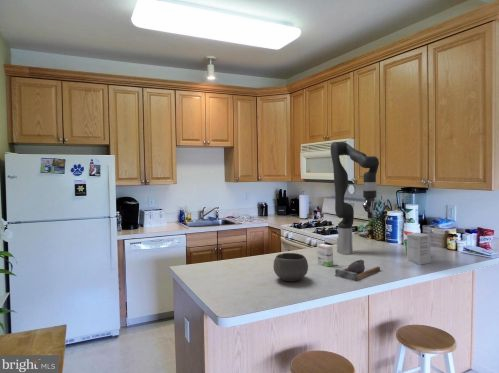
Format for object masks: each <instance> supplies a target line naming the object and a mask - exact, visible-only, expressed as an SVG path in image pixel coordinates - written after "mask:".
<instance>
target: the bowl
mask: <svg viewBox="0 0 499 373" xmlns="http://www.w3.org/2000/svg"><path fill="white" fill-rule="evenodd" d="M308 270H309V263H308V260H307V258H306V256H305V255H303V254H301V253H297V252H296V253H295V252H285V253H280V254H277V255H276V256H275V258H274V260H273V271H274V274H275V275H276V276H277V277H278V278H279V279H281V280H283V281H285V282H297V281H300V280H302V279H303V278H305V277H306V276H307V273H308Z"/></svg>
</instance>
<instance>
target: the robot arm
mask: <svg viewBox="0 0 499 373" xmlns="http://www.w3.org/2000/svg"><path fill="white" fill-rule="evenodd" d="M330 155H331V162H332V170H333V182H334V193H335V198H334V201H335V203H334V212H335V215H336V217H337V218H338V219H341V221H339V223H338V224H337V233H338V234H337V235H338V237H337V238H336V249H337V250H336V252H337V253H339V254H340V255H351V254H353V224H354V220H355V219H354V216H355V212H354V211H355V210H354V207H353V205H352V204H351V203H345V195H346V192H347V190H348V187H349V174H348V172H347V170H346V169H345V168H344V165H342V163H341V160H340V159H341V158H340V156H347V157H349V159H351V161H353V162H354V163H357V164H358V165H359V166H360V168H364V169H368V171H367V172H364V173H363V185H362V189H363V190H362V191H363V192H362V194H363V195H362V197H363V198H364V203H362V208H363V209H364V211H365V212H367V219H370V220H371V219H373V213H374V211H375V210H376V206H377V205H378V202H376V201H375V200H376V199H375V198H377V173H378V170H379V165H380V161H379V158H378V157H377V156H375V155H374V156H373V155H372V156H368V155H367V154H366V153H364V152H362V151H360V150H358V149H355V147H352V145H350V144H348V143H347V142H345V141H334V142H332V143H331V144H330Z"/></svg>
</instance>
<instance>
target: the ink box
mask: <svg viewBox="0 0 499 373" xmlns="http://www.w3.org/2000/svg"><path fill="white" fill-rule="evenodd" d="M316 246H317V248H316V249H317V250H316V251H317V253H316V254H317V264H318V263H319V264H318V265H321V264H322V265H321V266H324V265H325V267H331V266H334V255H333V254H334V250H333V248H334V247H333V245H330V244H326V243H320V244H319V243H318V244H317V245H316Z"/></svg>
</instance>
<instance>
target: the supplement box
mask: <svg viewBox="0 0 499 373" xmlns="http://www.w3.org/2000/svg"><path fill="white" fill-rule="evenodd" d="M406 239H407V254H406V260H407V261H406V262H409V263H412V264H416V265H419V266H420V265H425V264H431V257H432V256H431V253H432V252H431V234H427V233H423V232H422V233H421V232H413V233H407V234H406Z"/></svg>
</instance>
